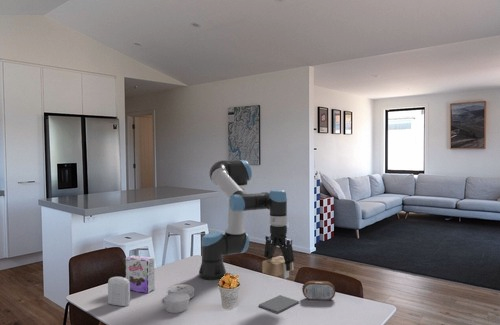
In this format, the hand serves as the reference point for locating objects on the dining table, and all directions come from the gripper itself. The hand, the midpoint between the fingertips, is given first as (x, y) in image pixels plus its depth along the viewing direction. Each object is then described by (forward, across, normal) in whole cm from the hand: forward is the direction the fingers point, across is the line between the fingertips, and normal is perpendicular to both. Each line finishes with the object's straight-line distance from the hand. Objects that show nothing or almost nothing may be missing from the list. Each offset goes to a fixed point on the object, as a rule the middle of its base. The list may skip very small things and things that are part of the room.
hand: (278, 275), depth 164 cm
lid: (+14, -40, -24) cm, 49 cm away
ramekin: (+13, -30, -34) cm, 47 cm away
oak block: (-5, 0, -6) cm, 8 cm away
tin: (+13, +10, +17) cm, 24 cm away
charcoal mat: (+13, 0, 0) cm, 13 cm away
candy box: (+13, -63, -33) cm, 72 cm away
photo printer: (+13, -54, -48) cm, 74 cm away
